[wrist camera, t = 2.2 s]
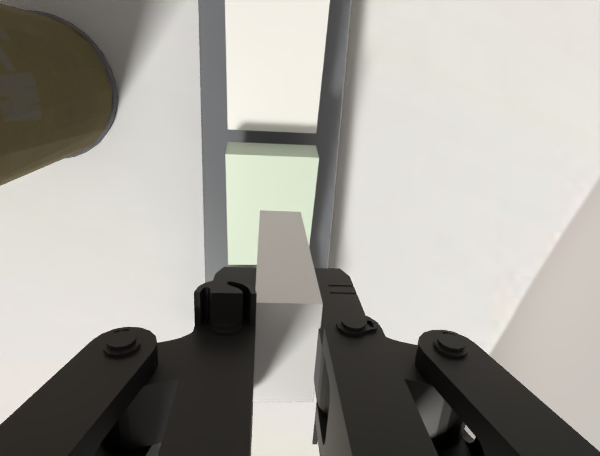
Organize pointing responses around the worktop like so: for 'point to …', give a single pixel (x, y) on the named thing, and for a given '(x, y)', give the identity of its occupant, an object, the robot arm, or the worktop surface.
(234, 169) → the rocker mid
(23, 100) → the canister
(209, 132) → the rocker switch panel
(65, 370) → the robot arm
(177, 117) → the worktop surface
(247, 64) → the block
